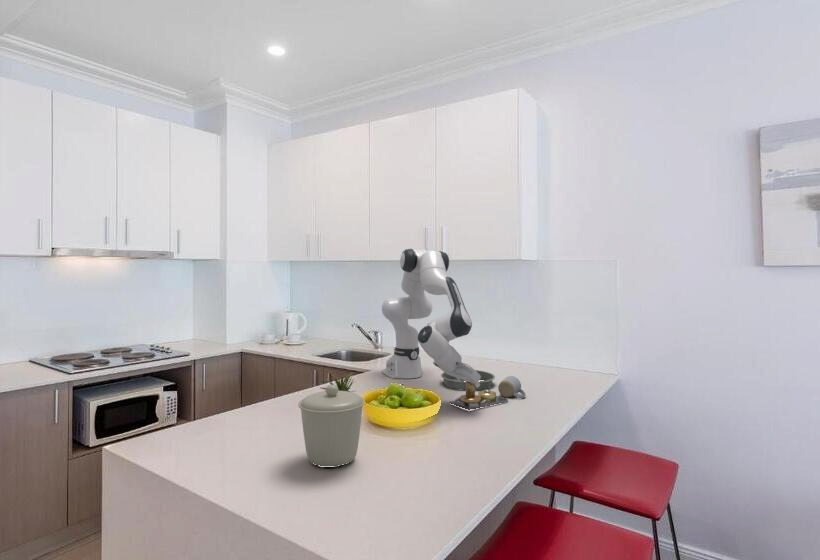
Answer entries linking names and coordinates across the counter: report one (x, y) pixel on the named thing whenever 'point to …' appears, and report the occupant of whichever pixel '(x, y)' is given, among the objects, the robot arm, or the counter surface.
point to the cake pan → (456, 384)
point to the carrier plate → (486, 400)
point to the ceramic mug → (511, 387)
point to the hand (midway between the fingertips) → (470, 383)
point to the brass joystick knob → (470, 395)
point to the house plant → (342, 383)
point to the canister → (331, 426)
